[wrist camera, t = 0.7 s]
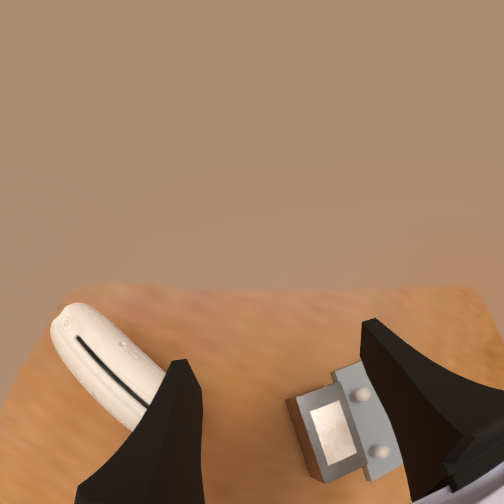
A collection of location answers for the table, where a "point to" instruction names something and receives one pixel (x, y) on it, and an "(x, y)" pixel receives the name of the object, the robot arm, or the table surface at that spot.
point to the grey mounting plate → (370, 421)
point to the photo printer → (106, 362)
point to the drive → (327, 432)
